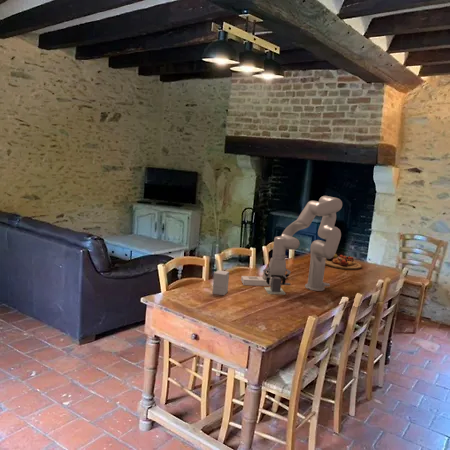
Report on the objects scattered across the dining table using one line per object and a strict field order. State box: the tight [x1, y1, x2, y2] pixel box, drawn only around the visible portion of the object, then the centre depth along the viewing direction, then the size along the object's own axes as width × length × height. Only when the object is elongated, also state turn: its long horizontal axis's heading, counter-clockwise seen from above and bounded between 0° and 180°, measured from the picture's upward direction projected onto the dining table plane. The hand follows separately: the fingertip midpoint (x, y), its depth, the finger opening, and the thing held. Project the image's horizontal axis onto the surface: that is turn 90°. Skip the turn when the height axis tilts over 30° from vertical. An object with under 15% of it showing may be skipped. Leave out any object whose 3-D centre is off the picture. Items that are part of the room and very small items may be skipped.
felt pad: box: [263, 286, 287, 295], centre depth 259 cm, size 11×11×1 cm
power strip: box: [240, 275, 291, 287], centre depth 272 cm, size 32×8×4 cm, turn 98°
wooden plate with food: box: [325, 253, 363, 271], centre depth 340 cm, size 32×32×8 cm
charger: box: [269, 277, 282, 292], centre depth 258 cm, size 5×5×8 cm
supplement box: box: [212, 269, 230, 296], centre depth 246 cm, size 7×7×13 cm
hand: (275, 283), depth 258 cm, fingers open, 9 cm apart
